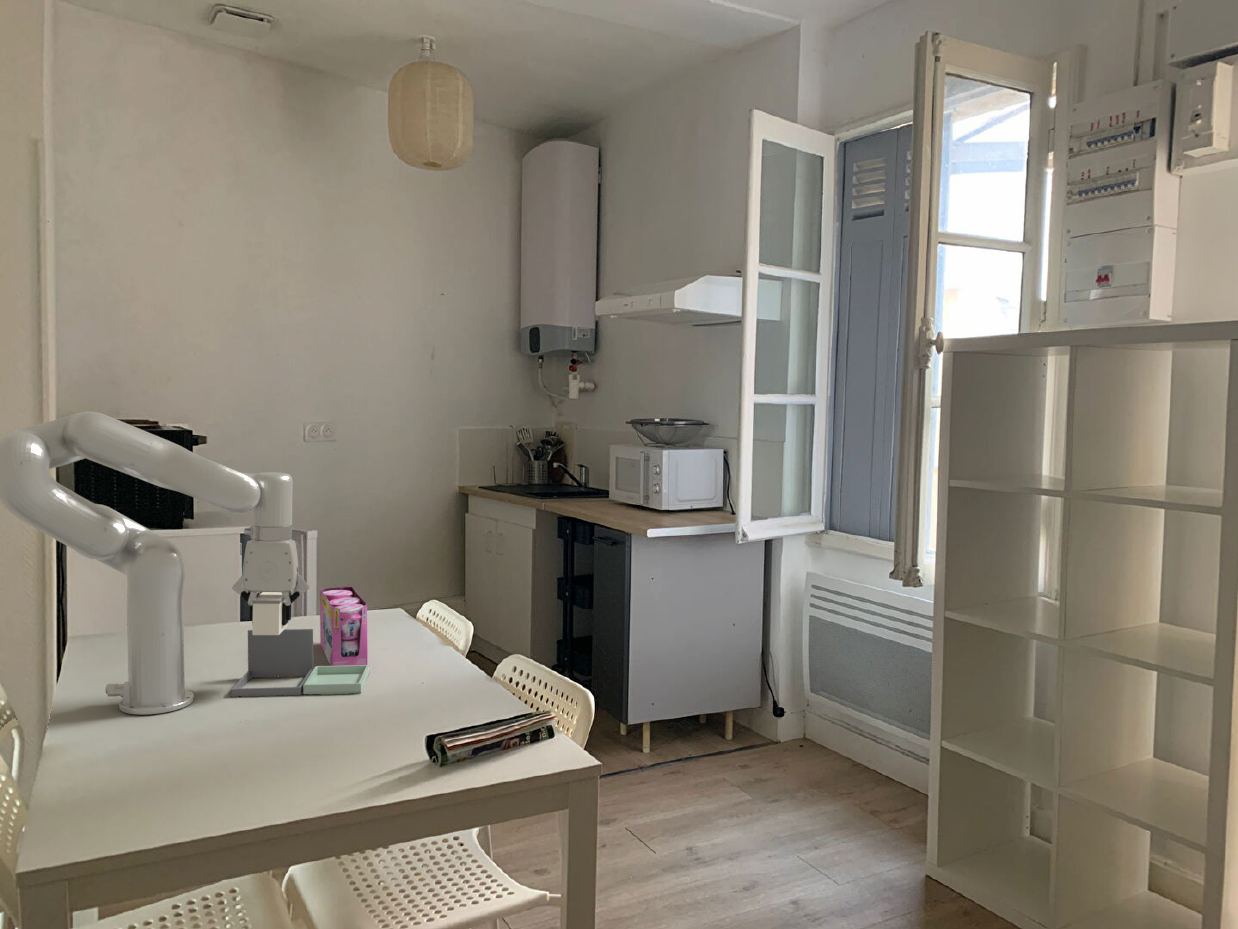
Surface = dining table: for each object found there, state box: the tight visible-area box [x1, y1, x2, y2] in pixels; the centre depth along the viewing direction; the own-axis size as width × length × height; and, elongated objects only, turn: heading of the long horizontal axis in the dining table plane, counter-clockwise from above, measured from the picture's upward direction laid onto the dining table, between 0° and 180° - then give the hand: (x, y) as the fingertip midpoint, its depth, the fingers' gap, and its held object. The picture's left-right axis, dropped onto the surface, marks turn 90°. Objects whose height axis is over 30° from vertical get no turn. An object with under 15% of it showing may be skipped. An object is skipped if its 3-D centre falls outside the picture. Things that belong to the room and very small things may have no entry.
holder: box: [230, 628, 314, 698], centre depth 187 cm, size 13×13×10 cm
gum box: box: [319, 586, 369, 666], centre depth 210 cm, size 24×8×14 cm, turn 24°
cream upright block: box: [251, 592, 289, 635], centre depth 186 cm, size 5×8×7 cm, turn 8°
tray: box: [302, 664, 370, 695], centre depth 189 cm, size 11×13×2 cm
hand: (270, 622), depth 186 cm, fingers closed on cream upright block, 5 cm apart
